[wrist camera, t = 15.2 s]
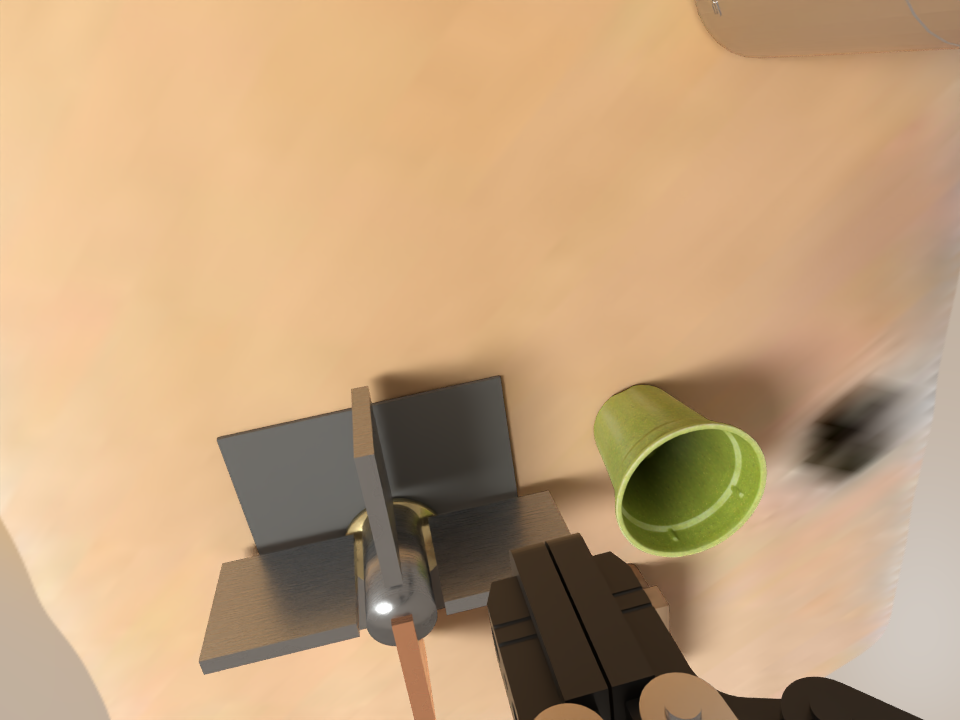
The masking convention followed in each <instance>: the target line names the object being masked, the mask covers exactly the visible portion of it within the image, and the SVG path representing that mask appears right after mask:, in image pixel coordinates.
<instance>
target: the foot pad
mask: <svg viewBox="0 0 960 720" xmlns="http://www.w3.org/2000/svg"><path fill="white" fill-rule="evenodd" d="M372 407H373V411H374V416H375V420H376V425H377V429H378V434H379V439H380V443H381V448H382V452H383V457H384V461H385V466H386V471H387V475H388V480H389V484H390V489H391V493H392V498H393V499H395V498H404V499H411V500H415V501H419V502H421V503H423V504H425V505H427V506H429V507H430V508H431V509H433V510H434V511H435V512H436V513H437V514H438V515H441V514H446V513H450V512H454V511H459V510H463V509H468V508H472V507H477V506H481V505H486V504H490V503H495V502H499V501H503V500H508V499H512V498H517V497H518V495H517V488H516V481H515V475H514V468H513V461H512V454H511V447H510V440H509V433H508V427H507V420H506V413H505V406H504V399H503V392H502V385H501V378H500V376H495V377H490V378H486V379H481V380H477V381H472V382H468V383H463V384H459V385H454V386H449V387H445V388H440V389H436V390H431V391H427V392H422V393H418V394H413V395H409V396H404V397H399V398H395V399H390V400H386V401H381V402H377V403H372ZM217 442H218V445H219V448H220V450H221V453H222V456H223V458H224V461H225V464H226V466H227V469H228V472H229V474H230V477H231V480H232V482H233V485H234V488H235V490H236V493H237V496H238V498H239V501H240V504H241V506H242V509H243V512H244V514H245V517H246V520H247V522H248V525H249V528H250V530H251V533H252V536H253V538H254V541H255V544H256V547H257V549H258V552H259V555H263V554H267V553H272V552H276V551H281V550H285V549H290V548H294V547H299V546H303V545H308V544H312V543H316V542H321V541H325V540H330V539H334V538H339V537H343V536H345V532H346V530H347V528H348V526H349V524H350V523H351V521H352V520H353V519H354V517H355V516H356V515H357V514H359V513H360V512H361V511H362V510H364V509H365V508H366V506H365V502H364V498H363V494H362V490H361V486H360V482H359V477H358V473H357V469H356V465H355V461H354V449H353V421H352V408H350V409H345V410H340V411H336V412H331V413H327V414H322V415H318V416H313V417H309V418H304V419H300V420H295V421H290V422H286V423H281V424H277V425H272V426H268V427H263V428H259V429H254V430H250V431H245V432H241V433H236V434H231V435H227V436H222V437H218V438H217ZM430 575H431V580H432V586H433V592H434V597H435V603H436V608H437V610H438V609H442V608H445V603H444V598H443V593H442V588H441V583H440V578H439V573H438V568H437V565H436V566H435V567H434V569H433V570H431V571H430ZM358 602H359V630H362V629H366V628H367V626H366V609H365V588H364V580H362V579H361V578H359V577H358ZM370 636H371V635H370Z"/></svg>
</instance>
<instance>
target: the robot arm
mask: <svg viewBox="0 0 960 720" xmlns="http://www.w3.org/2000/svg"><path fill="white" fill-rule="evenodd" d="M695 3H696V7H697V10H698V14H699V16H700V18H701V20H702V22H703V24H704V26H705V27H706V29H707V31H708V32H709V33H710V34H711V36H712V37H713V38H714V39H715V40H716V41H717V43H719V44H720V45H722V46H723V47H725V48H726V49H727V50H729V51H730V52H733V53H736V54H739V55H741V56H744V57H756V58H766V57H788V56H816V55H837V54H857V53H878V52H898V51H919V50H939V49H960V0H695ZM509 556H510V563H511V569H512V575H513V577H510V578H506V579H503V580H499V581H495V582H492V583H491V587H490V592H489V597H488V601H487V607H488V613H489V618H490V623H491V629H492V634H493V639H494V645H495V650H496V655H497V660H498V663H499V667H500V671H501V674H502V678H503V681H504V685H505V689H506V693H507V697H508V700H509V704H510V708H511V711H512V715H513V719H514V720H923V719H921V718H918V717H916V716H914V715H912V714H910V713H907V712H905V711H903V710H901V709H899V708H896V707H894V706H892V705H890V704H887V703H885V702H883V701H881V700H879V699H876V698H874V697H872V696H870V695H867V694H865V693H863V692H861V691H859V690H856V689H854V688H852V687H850V686H847V685H845V684H843V683H840V682H837V681H835V680H832V679H828V678H823V677H806V678H802V679H799V680H796V681H794V682H793V683H791V684H790V685H789V686H788V687H787V688H786V689H785V691H784V693H783V695H782V698H781V699H768V698H745V697H736V696H732V695H728V694H725V693H722V692H720V691H718V690H716V689H715V688H714V687H713V686H711V685H710V684H709V683H707V682H706V681H704V680H703V679H701V678H699V677H698V676H697V675H696V674H695V673H694V672H693V671H692V669H691V668H690V666H689V665H688V663H687V661H686V660H685V658H684V656H683V655H682V653H681V651H680V650H679V648H678V646H677V645H676V643H675V641H674V640H673V638H672V636H671V634H670V633H669V631H668V629H667V628H666V626H665V624H664V623H663V621H662V619H661V618H660V616H659V614H658V613H657V611H656V609H655V607H654V606H652V603H651V601H650V599H649V597H648V596H647V594H646V592H645V591H644V590H643V589H642V586H641V584H640V582H639V580H638V579H637V577H636V575H635V574H634V572H633V570H632V569H631V567H630V566H629V565H628V564H626V563H625V562H624V561H622V560H621V559H620V558H618V557H617V556H616V555H614V554H613V553H612V552H606V553H602V554H598V555H595V556H592V555H591V553H590V551H589V549H588V547H587V545H586V543H585V541H584V540H583V538H582V536H581V535H580V534H579V533H575V534H571V535H567V536H564V537H560V538H556V539H552V540H548V541H545V544H544V543H543V542H541V543H537V544H533V545H529V546H525V547H521V548H517V549H513V550H509Z"/></svg>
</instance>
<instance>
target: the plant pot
mask: <svg viewBox="0 0 960 720" xmlns="http://www.w3.org/2000/svg"><path fill="white" fill-rule="evenodd" d="M594 437H595V441H596V444H597V447H598V449H599V452H600V454H601V457H602V459H603V461H604V464H605V466H606V469H607V471H608V474H609V477H610V479H611V482H612V485H613V487H614V490H615V500H616V501H615V513H616V518H617V522H618V525H619V527H620V529H621V531H622V533H623V535H624V536H625V538H626V539H627V540H628V541H629V542H630V543H631V544H632V545H633V546H635V547H636V548H638V549H639V550H641V551H643V552H645V553H648V554H652V555H656V556H662V557H682V556H687V555H692V554H696V553H699V552H702V551H705V550H707V549H709V548H712V547H714V546H716V545H718V544H719V543H721V542H723V541H725V540H726V539H727V538H729V537H730V536H731V535H733V534H734V533H735V532H736V531H737V530H738V529H740V528H741V527H742V526H743V524H744V523H745V522H746V521H747V520H748V519H749V518H750V517H751V515H752V514H753V513H754V511H755V509H756V508H757V506H758V504H759V502H760V500H761V498H762V495H763V493H764V488H765V484H766V477H767V470H766V461H765V458H764V455H763V452H762V450H761V448H760V446H759V445H758V443H757V442H756V441H755V440H754V439H753V438H752V437H751V436H750V435H748V434H747V433H746V432H744V431H743V430H741V429H739V428H737V427H735V426H732V425H729V424H725V423H718V422H715V421H711V420H708V419H706V418H705V417H703V416H701V415H700V414H698V413H697V412H695V411H693V410H692V409H690V408H689V407H687V406H686V405H684V404H683V403H681V402H680V401H678V400H677V399H675V398H674V397H672V396H671V395H669V394H667V393H666V392H665V391H663V390H661V389H659V388H657V387H654V386H650V385H636V386H632V387H630V388H629V389H627V390H625V391H623V392H621V393H619V394H616V395H614V396H612V397H611V398H610V399H608V400H607V401H606V402H605V404H604V405H603V406H602V408H601V409H600V411H599V412H598V415H597V417H596V420H595V424H594Z"/></svg>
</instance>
